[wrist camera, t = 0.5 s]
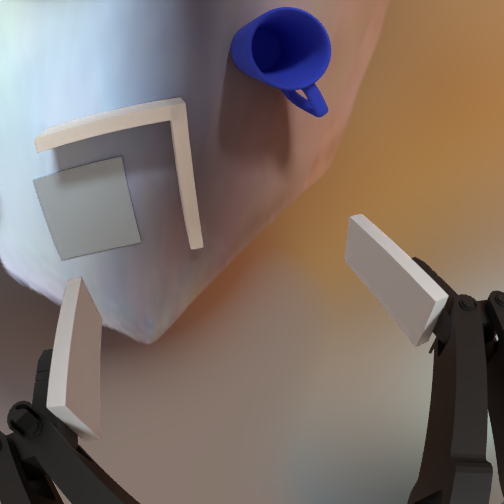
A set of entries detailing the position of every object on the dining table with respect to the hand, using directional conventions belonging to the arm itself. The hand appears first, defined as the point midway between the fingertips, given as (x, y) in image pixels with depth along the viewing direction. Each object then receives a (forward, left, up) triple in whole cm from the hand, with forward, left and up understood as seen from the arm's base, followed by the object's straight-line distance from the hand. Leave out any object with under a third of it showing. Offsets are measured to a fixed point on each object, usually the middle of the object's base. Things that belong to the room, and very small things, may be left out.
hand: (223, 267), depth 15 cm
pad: (+7, -13, -26) cm, 30 cm away
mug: (-8, +11, -26) cm, 30 cm away
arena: (+4, -7, -26) cm, 27 cm away
